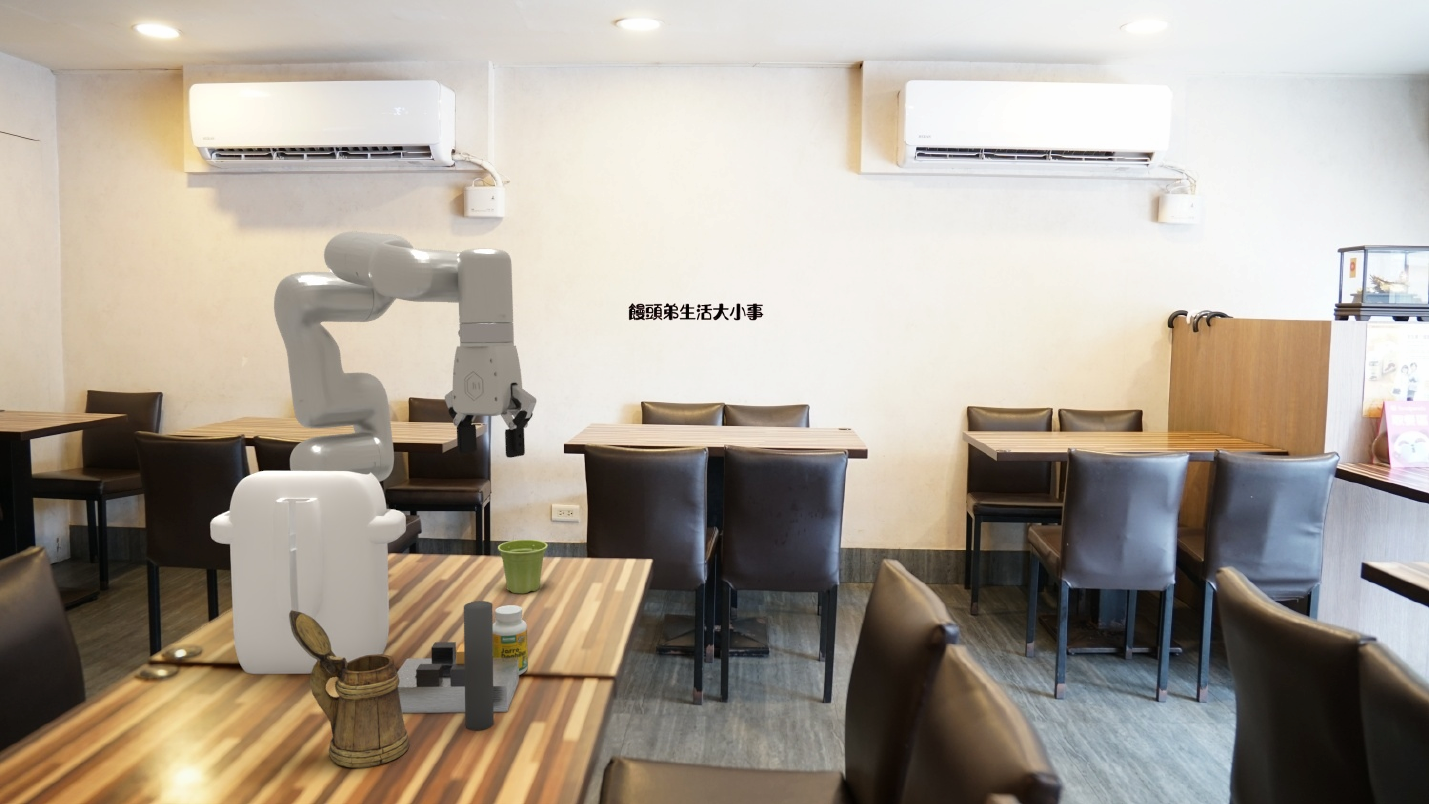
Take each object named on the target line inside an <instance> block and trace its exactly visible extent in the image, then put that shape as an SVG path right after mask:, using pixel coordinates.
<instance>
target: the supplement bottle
mask: <svg viewBox="0 0 1429 804" xmlns="http://www.w3.org/2000/svg"><path fill="white" fill-rule="evenodd" d="M494 619H495V621H494V622H493V658H519V676H520V675H522V674H524V673H525V672H527V670H528V667H529V666H528V664H529V663H528V661H529V660H528V655H529V654H528V650H529V649H528V625H527V622H526V621H524V619H523V608H522V607H521V606H520V605H515V604H514V605H513V604H511V605H509V604H508V605H502V606H499V607H497V608H495V610H494Z"/></svg>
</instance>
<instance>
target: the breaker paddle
mask: <svg viewBox="0 0 1429 804" xmlns="http://www.w3.org/2000/svg"><path fill="white" fill-rule="evenodd" d="M456 664H464V643H460V644H459V646H458V648H456Z"/></svg>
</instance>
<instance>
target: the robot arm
mask: <svg viewBox="0 0 1429 804" xmlns="http://www.w3.org/2000/svg"><path fill="white" fill-rule="evenodd" d="M323 258H324V263H325V265H326V267H327V269H328V270H329V271H330V272H329V271H328V272H327V271H303V272H296V273H291V274H290V275H287V276H285V277H283V278H282V279H281V280H280V282H279V283H278V285H277V287H276V289H275V293H274V299H273V300H274V301H273V311H274V317H275V321H276V324H277V328H278V330H279V333H280V335H281V338H282V342H283V344H284V347H285V350H286V354H287V363H288V364H287V365H288V373H289V381H290V382H289V383H290V389H291V398H292V406H293V410H294V415H295V418H296V420H297V422H298V423H299V425H300V426H303V427H304V428H308V429H329V428H330V429H331V428H339V427H341V428H342V427H349V426H351V427H353V430H354V432H352V433H340V434H339V433H338V434H329V435H323V436H320V435H319V436H315V437H311V438H308V439H305V440H303V441H301V442H299V443H297V444H296V446H295V447H294V448H293V450H291V454H290V457H289V469H290V471H350V472H355V473H360V474H370V472H371V473H372V474H373V475H374V476H375V477H376V478H377V480H378V481H379V483H380V482H382V481H385V480H386V479H387V478H389V476H390V475H391V473H392V471H393V469H394V461H395V453H394V441H393V435H392V433H393V432H392V425H391V423H392V422H391V416H390V415H391V414H390V407H389V406H390V405H389V400H388V394H387V391H386V389H385V387H384V385H383V383H382V382H381V381H380V379H379V378H378V377H376V376H375V375H374V374H371V373H368V372H344V370H343V366H342V357H341V350H340V347H339V344H338V342H337V341H336V339H335V338H334V336H333V335H332V334H331V333H330V332H329V330H328V329H326V328H325V327H324V325H322V324H321V323H323V322H327V323H328V322H329V323H330V322H332V323H333V322H334V323H335V322H336V323H366V322H373V321H376V320H378V319H379V318H380V317H382V316H383V315H384V314H385V313H386V312H387V311H388V309H389V308H390V307H391V305H392V304H394V302H395V301H396V300H403V301H407V302H417V303H418V302H419V303H423V302H425V303H428V302H429V303H458V314H459V315H458V316H459V318H458V319H459V322H458V323H459V329H458V331H457V332H458V334H457V335H458V337H459V344H460V345H457V346H456V349H455V354H454V360H453V368H452V369H453V370H452V390H451V391H449V392H448V393H447V394H445V395H444V401H445V403H446V406H447V408H448V414H449V415H450V417H451V418H452V419H453V420H452V423H453V425H454V427H456V439H457V440H456V442H457V443H456V446H457V453H458V454H467V453H473V452H476V451H477V426H476V424H475V423H474V421H475V420H476V418H477V416H478V417H479V416H482V417H483V416H485V417H496V416H500V417H501V418H502V419H503V421H504V423H505V424H506V426H507V429H505V432H504V442H505V457H507V458H509V459H510V458H516V457H517V458H518V457H523V456H524V455H525V453H526V452H525V451H526V449H525V448H526V447H525V429H526V428H527V427H528V425H529V424H528V423H529V421H531V419H532V418H533V415H534V414H533V412H534V409H535V407H536V405H537V398H536V397H535V396H533V395H532V394H531V393H530V392H528V391H526V390H525V389H523V381H522V379H523V378H522V371H521V363H520V357H519V353H518V347H517V346H516V345H515V339H514V338H515V336H514V335H515V334H514V308H513V307H514V302H513V298H514V297H513V273H512V271H513V270H512V259H511V256H510V255H509V253H508V252H507V251H505V250H503V249H502V250H501V249H497V248H470V249H465V250H463V251H451V250H441V249H440V250H439V249H428V248H426V249H425V248H414V247H413V245H412V244H411V242H410V241H408V240H407V239H405V238H404V237H403V236H399V235H396V234H390V233H389V234H387V233H378V232H377V233H376V232H367V231H354V230H353V231H345V232H342V233H339V234H336V235H335V236H333V237H332V238H331V239H330V240H329V241H328V242H327V244H326V245H325V248H324V252H323ZM473 423H474V424H473Z"/></svg>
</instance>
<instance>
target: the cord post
mask: <svg viewBox="0 0 1429 804" xmlns="http://www.w3.org/2000/svg"><path fill="white" fill-rule="evenodd" d="M493 621H494V620H493V603H492V602H489V601H485V600H478V601H471V602H468V603H467V602H466V603H465V604H464V605H463V644H464V664H465V712H464V713H465V715H464V717H465V718H464V719H465V720H464V722H465V724H464V726H465V729H468V730H471V731H482V730H486V729H489V728H491V727H492V726H494V724H495V723H494V719H495V718H494V717H495V716H494V713H495V712H494V710H493V623H494V622H493Z"/></svg>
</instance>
